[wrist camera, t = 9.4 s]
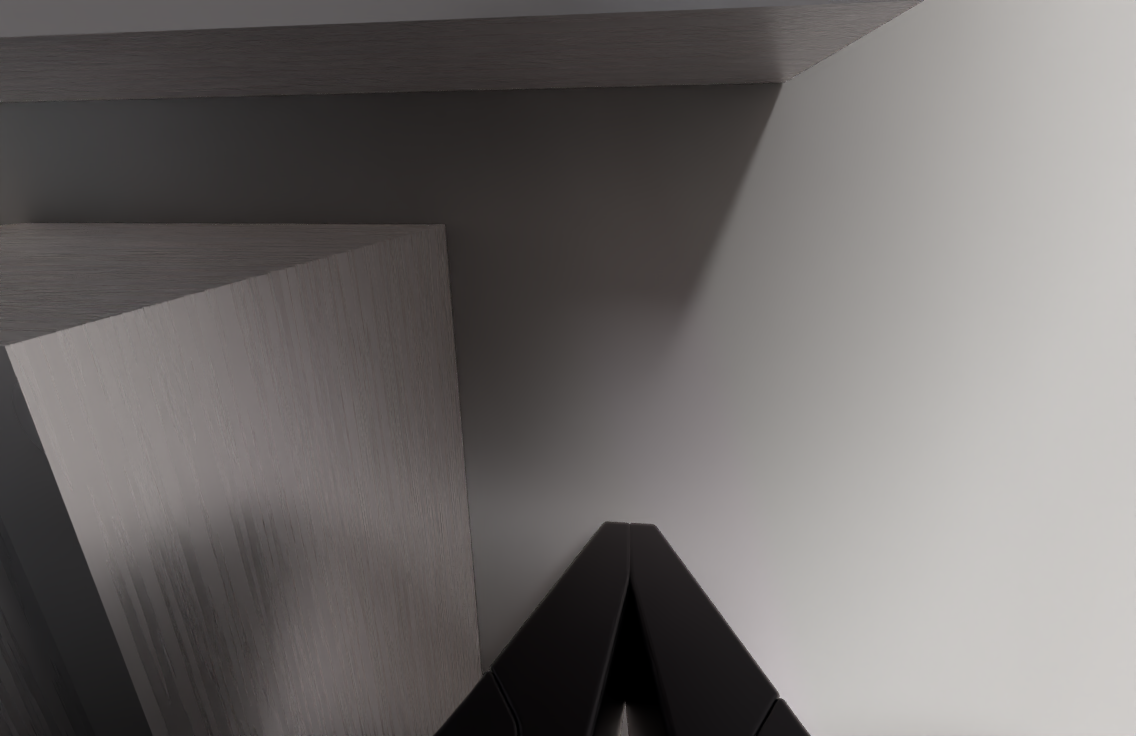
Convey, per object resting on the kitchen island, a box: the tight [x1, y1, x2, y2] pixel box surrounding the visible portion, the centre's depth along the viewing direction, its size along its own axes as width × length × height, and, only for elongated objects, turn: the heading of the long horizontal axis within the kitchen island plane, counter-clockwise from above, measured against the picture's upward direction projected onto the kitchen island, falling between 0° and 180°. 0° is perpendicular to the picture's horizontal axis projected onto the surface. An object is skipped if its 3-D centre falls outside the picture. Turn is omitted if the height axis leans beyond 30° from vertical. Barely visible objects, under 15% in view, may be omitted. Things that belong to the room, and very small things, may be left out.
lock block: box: [0, 223, 482, 736], centre depth 7 cm, size 10×7×7 cm
